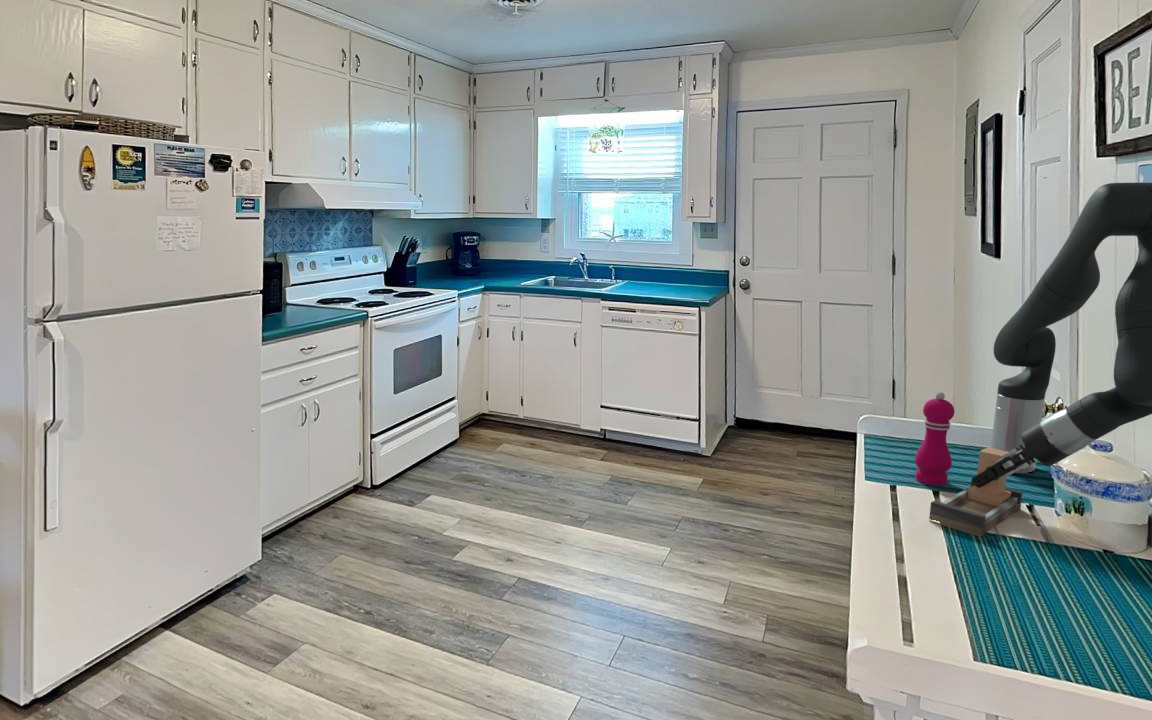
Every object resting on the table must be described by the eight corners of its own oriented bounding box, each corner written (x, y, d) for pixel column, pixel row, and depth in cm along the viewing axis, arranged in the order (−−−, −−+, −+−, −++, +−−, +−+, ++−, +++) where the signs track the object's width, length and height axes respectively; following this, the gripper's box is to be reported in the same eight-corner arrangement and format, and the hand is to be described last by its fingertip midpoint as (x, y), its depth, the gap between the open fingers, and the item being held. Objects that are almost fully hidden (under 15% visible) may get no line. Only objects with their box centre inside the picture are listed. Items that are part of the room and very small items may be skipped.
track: (971, 496, 145) (973, 479, 144) (1020, 509, 138) (1022, 491, 137) (929, 520, 132) (931, 502, 131) (980, 536, 125) (982, 517, 124)
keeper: (977, 492, 142) (983, 445, 140) (1010, 501, 138) (1016, 452, 136) (967, 498, 139) (973, 450, 137) (1000, 507, 134) (1006, 457, 133)
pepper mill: (954, 487, 149) (964, 396, 146) (917, 484, 151) (927, 394, 147) (943, 476, 156) (953, 389, 153) (909, 473, 158) (917, 387, 154)
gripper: (1056, 413, 134) (980, 457, 145) (1030, 425, 125) (952, 472, 136) (1085, 446, 131) (1005, 489, 142) (1061, 461, 122) (978, 506, 133)
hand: (980, 480), depth 139 cm, fingers closed on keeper, 4 cm apart
